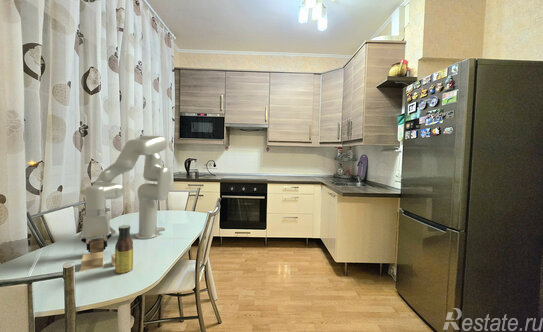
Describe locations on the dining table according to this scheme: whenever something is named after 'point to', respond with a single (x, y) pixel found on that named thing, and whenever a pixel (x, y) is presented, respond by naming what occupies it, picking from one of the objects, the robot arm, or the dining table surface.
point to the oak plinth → (92, 261)
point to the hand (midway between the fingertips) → (97, 249)
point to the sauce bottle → (124, 251)
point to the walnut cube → (96, 245)
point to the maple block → (113, 260)
